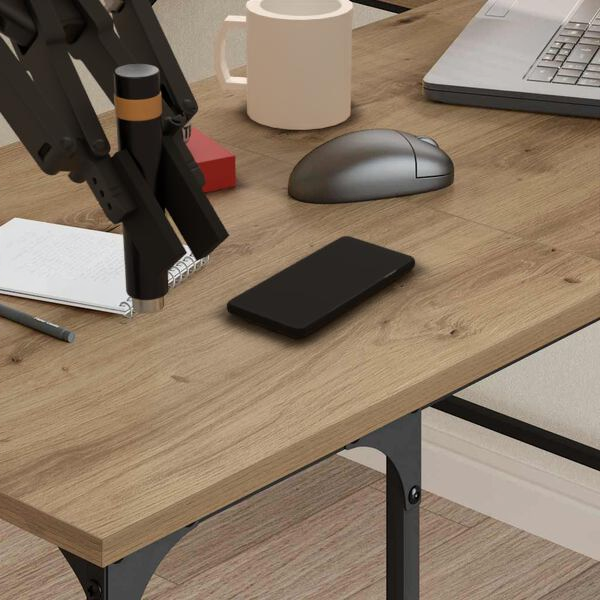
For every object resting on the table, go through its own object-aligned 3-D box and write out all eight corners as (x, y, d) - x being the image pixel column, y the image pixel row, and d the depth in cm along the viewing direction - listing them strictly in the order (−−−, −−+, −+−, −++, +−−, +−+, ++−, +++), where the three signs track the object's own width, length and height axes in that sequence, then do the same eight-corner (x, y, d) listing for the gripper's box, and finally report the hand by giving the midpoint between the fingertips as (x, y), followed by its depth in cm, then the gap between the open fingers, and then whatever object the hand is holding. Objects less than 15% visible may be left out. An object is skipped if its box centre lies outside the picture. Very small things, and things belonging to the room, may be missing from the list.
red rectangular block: (235, 186, 122) (234, 116, 119) (163, 200, 119) (160, 129, 116) (195, 156, 128) (193, 89, 125) (125, 169, 125) (122, 101, 122)
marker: (140, 321, 79) (127, 80, 73) (118, 304, 81) (103, 68, 75) (178, 309, 80) (169, 72, 74) (156, 293, 82) (144, 60, 76)
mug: (202, 123, 136) (199, 14, 131) (227, 89, 145) (225, -14, 140) (341, 133, 134) (343, 22, 129) (358, 98, 142) (361, -6, 138)
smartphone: (419, 257, 107) (300, 331, 96) (418, 267, 107) (300, 342, 96) (344, 233, 110) (222, 302, 100) (344, 243, 111) (222, 313, 100)
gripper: (67, -82, 87) (260, 244, 84) (-160, -39, 77) (50, 332, 74) (118, -162, 81) (326, 185, 78) (-121, -127, 71) (108, 272, 68)
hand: (191, 256), depth 76 cm, fingers closed on marker, 2 cm apart
